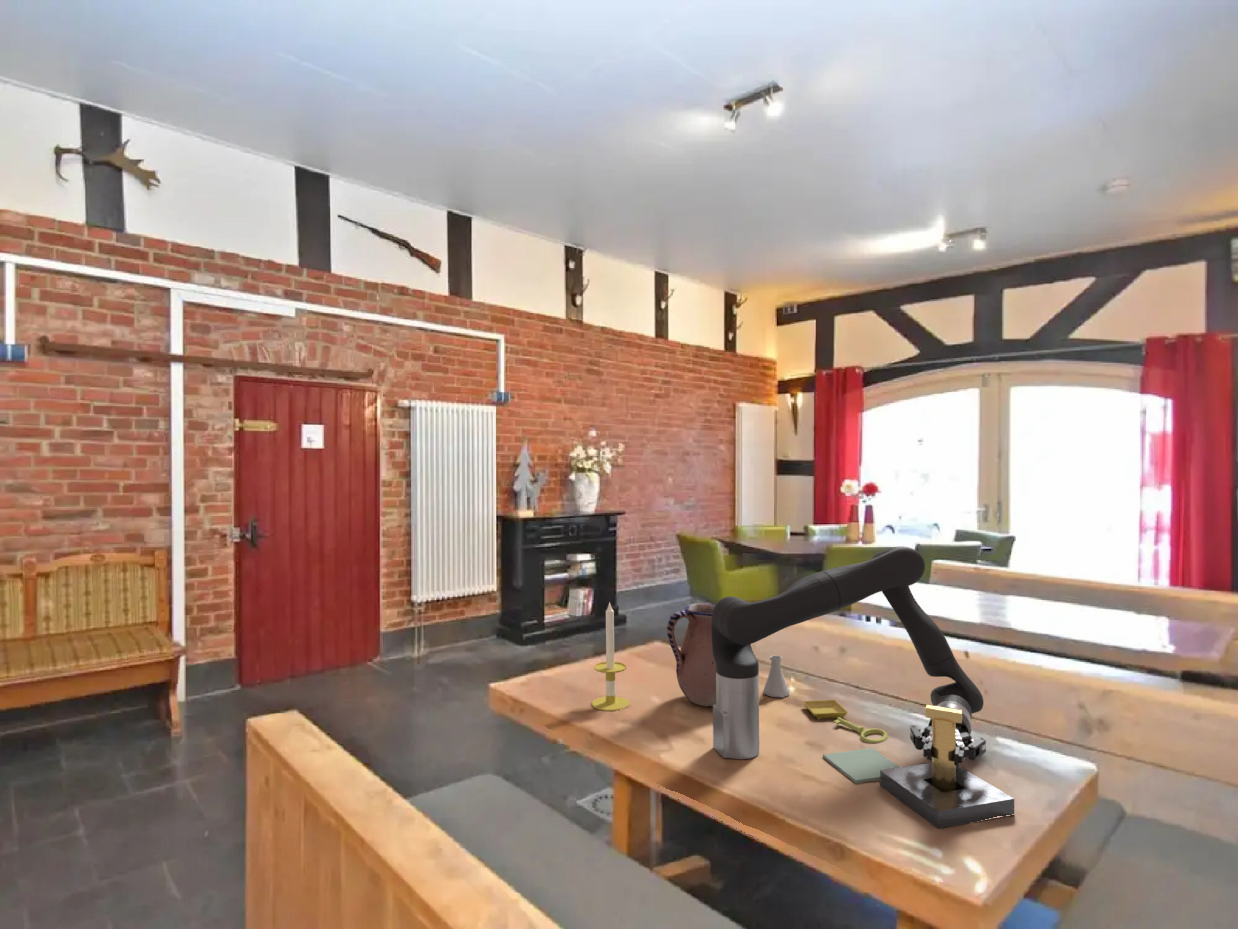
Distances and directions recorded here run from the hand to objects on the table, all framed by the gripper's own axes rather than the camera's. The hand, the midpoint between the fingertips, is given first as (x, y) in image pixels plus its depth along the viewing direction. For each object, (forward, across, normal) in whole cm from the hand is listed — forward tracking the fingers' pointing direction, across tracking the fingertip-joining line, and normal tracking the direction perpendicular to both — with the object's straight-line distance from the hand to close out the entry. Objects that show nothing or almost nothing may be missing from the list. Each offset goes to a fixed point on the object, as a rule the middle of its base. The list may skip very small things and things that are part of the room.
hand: (942, 757), depth 124 cm
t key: (-3, 0, +9) cm, 9 cm away
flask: (-43, -44, +9) cm, 63 cm away
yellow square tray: (-35, -30, +10) cm, 47 cm away
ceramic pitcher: (-28, -59, +9) cm, 66 cm away
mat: (-10, -16, +9) cm, 21 cm away
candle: (-15, -80, +9) cm, 82 cm away
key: (-27, -19, +10) cm, 35 cm away
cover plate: (-3, 0, +9) cm, 9 cm away
